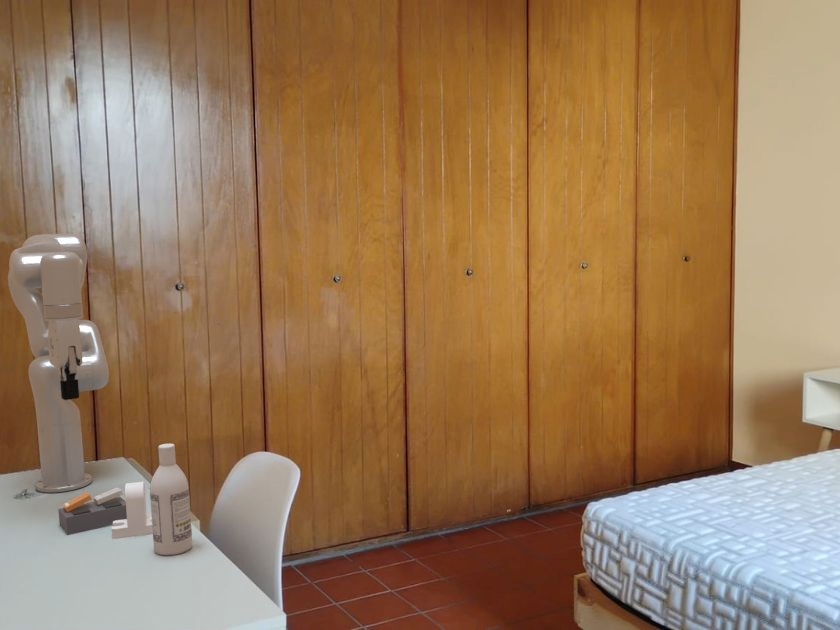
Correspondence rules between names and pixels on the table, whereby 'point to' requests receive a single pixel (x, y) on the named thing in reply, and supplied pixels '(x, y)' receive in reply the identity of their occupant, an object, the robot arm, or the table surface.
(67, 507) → the rocker orange
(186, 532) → the bath foam
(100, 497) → the rocker grey
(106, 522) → the rocker switch box
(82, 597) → the table surface
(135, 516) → the cable organizer
